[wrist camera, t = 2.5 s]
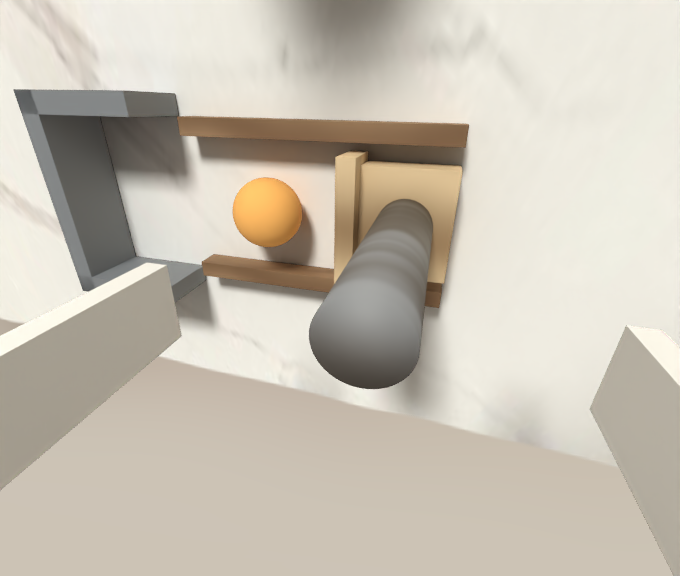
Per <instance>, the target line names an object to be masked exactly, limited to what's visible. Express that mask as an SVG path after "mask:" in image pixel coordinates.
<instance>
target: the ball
mask: <svg viewBox="0 0 680 576" xmlns="http://www.w3.org/2000/svg"><path fill="white" fill-rule="evenodd" d="M233 218H234V222H235V224H236V227H237V229H238V230H239V232H240V233H241V234H242V235H243V236H244V237H245V238H246V239H247V240H248V241H250V242H251V243H253V244H256V245H259V246H263V247H275V246H279V245H282V244H284V243H286V242H287V241H289V240H290V239H291V238H292V237H293V236H294V235H295V234H296V233H297V231H298V229H299V227H300V224H301V220H302V207H301V203H300V200H299V198H298V196H297V195H296V193H295V192H294V190H293V189H292V188H291V187H290V186H288V185H287V184H286V183H284V182H282V181H280V180H278V179H274V178H258V179H255V180H252V181H250V182H249V183H247V184H246V185H244V186H243V187H242V188H241V189H240V191H239V192H238V194H237V196H236V198H235V200H234V204H233Z"/></svg>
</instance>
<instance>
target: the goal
mask: <svg viewBox="0 0 680 576" xmlns="http://www.w3.org/2000/svg"><path fill="white" fill-rule="evenodd" d="M13 90H14V89H13ZM14 93H15V96H16V98H17V101H18V104H19V107H20V110H21V113H22V116H23V119H24V122H25V124H26V127H27V130H28V133H29V136H30V139H31V142H32V145H33V148H34V150H35V153H36V156H37V159H38V162H39V165H40V168H41V171H42V174H43V176H44V179H45V182H46V185H47V188H48V191H49V194H50V197H51V200H52V202H53V205H54V208H55V211H56V214H57V217H58V220H59V223H60V226H61V228H62V231H63V234H64V237H65V240H66V243H67V246H68V249H69V252H70V254H71V257H72V260H73V263H74V266H75V269H76V272H77V275H78V278H79V280H80V283H81V286H82V289H83V291H88V292H89V291H91V290H93V289H95V288H97V287H99V286H101V285H103V284H105V283H107V282H109V281H111V280H113V279H115V278H117V277H119V276H121V275H123V274H125V273H127V272H129V271H131V270H133V269H135V268H137V267H139V266H141V265H143V264H145V263H154V264H162V265H167V268H168V273H169V278H170V283H171V288H172V292H173V297H174V302H176V301H178V300H179V299H180V298H182V297H183V296H185V295H186V294H187V293H189V292H190V291H192V290H193V289H194V288H196V287H197V286H199V285H200V284H201V283H203V282H204V281H206V276H205V275H204V273H203V267H202V265H197V264H189V263H182V262H174V261H167V260H159V259H151V258H144V257H136V255H135V251H134V247H133V244H132V240H131V236H130V232H129V228H128V224H127V220H126V217H125V213H124V209H123V205H122V201H121V197H120V193H119V189H118V186H117V182H116V178H115V174H114V170H113V166H112V162H111V158H110V155H109V151H108V147H107V143H106V139H105V135H104V131H103V127H102V124H101V120H100V116H110V117H150V116H179V115H178V109H177V103H176V97H175V94H173V93H156V92H138V91H110V90H14Z"/></svg>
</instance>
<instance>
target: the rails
mask: <svg viewBox="0 0 680 576" xmlns="http://www.w3.org/2000/svg"><path fill="white" fill-rule="evenodd" d="M177 121H178V126H179V132H180V136H202V137H226V138H250V139H274V140H297V141H321V142H345V143H369V144H393V145H417V146H440V147H464V148H465V147H466V141H467V135H468V129H469V125H468V124H455V123H419V122H383V121H348V120H312V119H276V118H240V117H204V116H182V117H177ZM202 267H203V273H204V275H206V276H213V277H220V278H227V279H235V280H242V281H249V282H256V283H263V284H271V285H278V286H285V287H292V288H299V289H307V290H314V291H321V292H328V293H329V292H330V290H331V289H332V287H333V285H334V269H329V268H321V267H313V266H304V265H296V264H288V263H280V262H272V261H264V260H256V259H248V258H240V257H232V256H224V255H215V254H214V255H212V256H210V257H209V258H207V259H206V260H204V261H202ZM441 293H442V283H435V282H427V288H426V297H425V306H429V307H436V308H439V305H440V299H441Z"/></svg>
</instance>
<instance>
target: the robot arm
mask: <svg viewBox="0 0 680 576" xmlns="http://www.w3.org/2000/svg"><path fill="white" fill-rule="evenodd" d="M180 337H181V331H180V326H179V321H178V316H177V312H176V307H175V302H174V297H173V292H172V288H171V283H170V278H169V273H168V268H167V265H162V264H154V263H145V264H143V265H141V266H139V267H137V268H135V269H133V270H131V271H129V272H127V273H125V274H123V275H121V276H119V277H117V278H115V279H113V280H111V281H109V282H107V283H105V284H103V285H101V286H99V287H97V288H95V289H93V290H91V291H89V292H87V293H85V294H83V295H81V296H79V297H77V298H75V299H73V300H71V301H69V302H67V303H65V304H63V305H61V306H59V307H57V308H55V309H53V310H51V311H49V312H47V313H45V314H43V315H41V316H39V317H37V318H35V319H33V320H31V321H29V322H27V323H25V324H23V325H21V326H19V327H17V328H15V329H13V330H11V331H9V332H7V333H5V334H3V335H1V336H0V490H1V489H2V488H4V487H5V486H6V485H7V484H8V483H10V482H11V481H12V480H13V479H14V478H15V477H17V476H18V475H19V474H20V473H21V472H22V471H24V470H25V469H26V468H27V467H28V466H30V465H31V464H32V463H33V462H34V461H35V460H37V459H38V458H39V457H40V456H41V455H43V453H45V452H46V451H47V450H48V449H50V448H51V447H52V446H53V445H54V444H55V443H57V442H58V441H59V440H60V439H61V438H62V437H64V436H65V435H66V434H67V433H68V432H70V431H71V430H72V429H73V428H74V427H75V426H77V425H78V424H79V423H80V422H81V421H83V420H84V419H85V418H86V417H87V416H88V415H89V414H91V413H92V412H93V411H94V410H95V409H97V408H98V407H99V406H100V405H101V404H102V403H104V402H105V401H106V400H107V399H108V398H110V397H111V396H112V395H113V394H114V393H115V392H116V391H118V390H119V389H120V388H121V387H122V386H124V385H125V384H126V383H127V382H128V381H130V380H131V379H132V378H133V377H134V376H135V375H136V374H137V373H139V372H140V371H141V370H142V369H144V368H145V367H146V366H147V365H148V364H149V363H150V362H152V361H153V360H154V359H155V358H156V357H158V356H159V355H160V354H161V353H162V352H164V351H165V350H166V349H167V348H168V347H169V346H171V345H172V344H173V343H174V342H175V341H177V340H178V339H179V338H180ZM590 410H591V412H592V414H593V416H594V418H595V420H596V422H597V424H598V426H599V428H600V430H601V432H602V434H603V436H604V438H605V440H606V442H607V444H608V446H609V448H610V450H611V452H612V454H613V456H614V458H615V460H616V462H617V464H618V466H619V468H620V470H621V472H622V474H623V476H624V478H625V480H626V482H627V484H628V486H629V488H630V490H631V492H632V494H633V496H634V498H635V500H636V502H637V504H638V506H639V508H640V510H641V511H642V514H643V516H644V518H645V519H646V521H647V524H648V526H649V528H650V529H651V532H652V533H653V535H654V538H655V539H656V541H657V543H658V545H659V547H660V549H661V551H662V553H663V555H664V557H665V559H666V561H667V563H668V565H669V567H670V569H671V571H672V573H673V575H674V576H680V347H679V346H678V345H677V344H676V343H675V342H674V341H673V340H672V339H671V338H670V337H669V336H668V335H667V334H666V333H665V332H664V331H663V330H658V329H650V328H642V327H635V326H627V325H626V327H625V330H624V332H623V334H622V337H621V339H620V341H619V343H618V346H617V348H616V350H615V352H614V355H613V357H612V359H611V362H610V364H609V366H608V368H607V371H606V373H605V375H604V378H603V380H602V382H601V384H600V387H599V389H598V391H597V394H596V396H595V398H594V400H593V403H592V405H591V407H590Z"/></svg>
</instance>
